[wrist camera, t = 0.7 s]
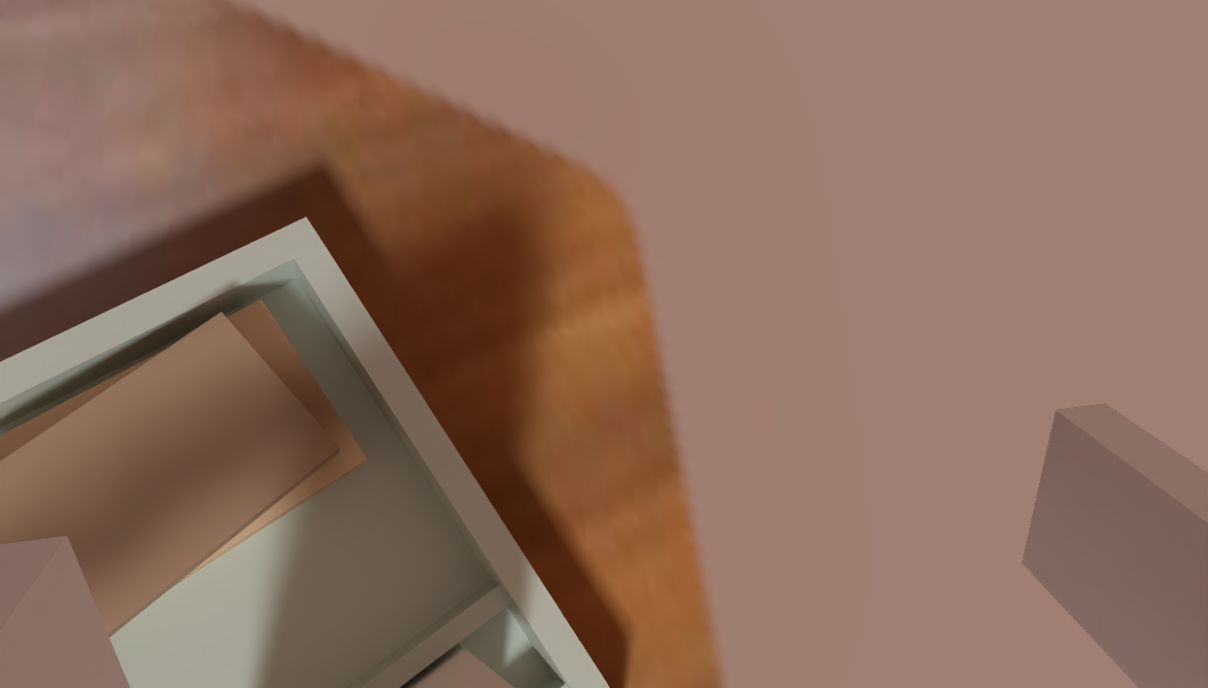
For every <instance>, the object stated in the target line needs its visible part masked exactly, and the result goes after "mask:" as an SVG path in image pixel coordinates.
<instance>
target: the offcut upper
mask: <svg viewBox="0 0 1208 688" xmlns="http://www.w3.org/2000/svg"><path fill="white" fill-rule="evenodd" d="M339 449H340V447H339V446H338V445H337V444H336V443H335V441H334V440H333V439H332V438H331V437H330V436H329V435H328V433H327V432H326V431H325V430H324V429H323V428H322V427H321V425H320V424H319V423H318V422H317V421H316V420H315V419H314V417H313V416H312V415H311V414H310V413H309V412H308V410H307V409H306V408H305V407H304V406H303V405H302V404H301V402H300V401H299V400H298V399H297V398H296V397H295V396H294V394H293V393H292V392H291V391H290V390H289V389H288V388H287V386H286V385H285V384H284V383H283V382H282V381H281V379H280V378H279V377H278V376H277V375H276V374H275V373H274V371H273V370H272V369H271V368H270V367H269V366H268V365H267V363H266V362H265V361H264V360H263V359H262V358H261V357H260V355H259V354H258V353H257V352H256V351H255V350H254V348H253V347H252V346H251V345H250V344H249V343H248V342H247V340H246V339H245V338H244V337H243V336H242V335H241V334H240V332H239V331H238V330H237V329H236V328H235V327H234V326H233V324H232V323H231V322H230V321H229V320H228V319H227V317H226V316H225V315H224V314H223V313H222V312H220V313H219V314H217V315H216V316H214V317H213V318H212V319H210V320H209V321H207V322H206V323H204V324H203V325H201V326H200V327H198V328H197V329H195V330H194V331H192V332H191V333H189V334H188V335H186V336H185V337H183V338H182V339H180V340H179V341H177V342H176V343H175V344H173V345H172V346H170V347H169V348H167V349H166V350H164V351H163V352H161V353H160V354H158V355H157V356H155V357H154V358H152V359H151V360H149V361H148V362H146V363H145V364H143V365H142V366H140V367H139V368H138V369H136V370H135V371H133V372H132V373H130V374H129V375H127V376H126V377H124V378H123V379H121V380H120V381H118V382H117V383H115V384H114V385H112V386H111V387H109V388H108V389H106V390H105V391H103V392H102V393H101V394H99V395H98V396H96V397H95V398H93V399H92V400H90V401H89V402H87V403H86V404H84V405H83V406H81V407H80V408H78V409H77V410H75V411H74V412H72V413H71V414H69V415H68V416H67V417H65V418H64V419H62V420H61V421H59V422H58V423H56V424H55V425H53V426H52V427H50V428H49V429H47V430H46V431H44V432H43V433H41V434H40V435H38V436H37V437H35V438H34V439H32V440H31V441H30V442H28V443H27V444H25V445H24V446H22V447H21V448H19V449H18V450H16V451H15V452H13V453H12V454H10V455H9V456H7V457H6V458H4V459H3V460H1V461H0V544H7V543H15V542H23V541H31V540H39V539H47V538H54V537H62V536H67V537H68V539H69V541H70V544H71V546H72V549H73V551H74V553H75V556H76V558H77V561H78V563H79V565H80V568H81V570H82V573H83V575H84V578H85V580H86V582H87V585H88V587H89V590H90V592H91V594H92V597H93V599H94V602H95V604H96V607H97V609H98V611H99V614H100V616H101V619H102V621H103V623H104V626H105V628H106V631H107V633H108V636H109V638H110V637H111V636H112V635H114V634H115V633H116V632H117V631H118V630H120V629H121V628H122V627H123V626H125V625H126V624H127V623H128V622H130V621H131V620H132V619H133V618H135V617H136V616H137V615H138V614H140V613H141V612H142V611H143V610H145V609H146V608H147V607H148V606H150V605H151V604H152V603H153V602H154V601H156V600H157V599H158V598H159V597H161V596H162V595H163V594H164V593H166V592H167V591H168V590H169V589H171V588H172V587H173V586H174V585H176V584H177V583H178V582H179V581H181V580H182V579H183V578H184V577H186V576H187V575H188V574H189V573H191V572H192V571H193V570H194V569H195V568H197V567H198V566H199V565H200V564H202V563H203V562H204V561H205V560H207V559H208V558H209V557H210V556H212V555H213V554H214V553H215V552H217V551H218V550H219V549H220V548H222V547H223V546H224V545H225V544H227V543H228V542H229V541H230V540H231V539H233V538H234V537H235V536H236V535H238V534H239V533H240V532H241V531H243V530H244V529H245V528H246V527H248V526H249V525H250V524H251V523H253V522H254V521H255V520H256V519H258V518H259V517H260V516H261V515H263V514H264V513H265V512H266V511H268V510H269V509H270V508H271V507H272V506H274V505H275V504H276V503H277V502H279V501H280V500H281V499H282V498H284V497H285V496H286V495H287V494H289V493H290V492H291V491H292V490H294V489H295V488H296V487H297V486H299V485H300V484H301V483H302V482H304V481H305V480H306V479H307V478H308V477H310V476H311V475H312V474H313V473H315V472H316V471H317V470H318V469H320V468H321V467H322V466H323V465H325V464H326V463H327V462H328V461H330V460H331V459H332V458H333V457H335V456H336V455H337V454H338V453H339Z"/></svg>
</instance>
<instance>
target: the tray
mask: <svg viewBox="0 0 1208 688" xmlns="http://www.w3.org/2000/svg"><path fill="white" fill-rule="evenodd" d="M260 299H261V300H262V301H263V303H264V304H265V306H266V307H267V309H268V310H269V312H270V313H271V315H272V316H273V318H274V319H275V321H276V322H277V324H278V325H279V327H280V328H281V330H282V331H283V333H284V334H285V336H286V337H287V339H288V340H289V342H290V343H291V345H292V346H293V348H294V349H295V351H296V352H297V354H298V355H299V357H300V358H301V360H302V361H303V363H304V364H305V366H306V367H307V369H308V370H309V372H310V373H311V375H312V376H313V378H314V379H315V381H316V382H317V384H318V385H319V387H320V388H321V390H322V391H323V393H324V394H325V396H326V397H327V399H328V400H329V402H330V403H331V405H332V406H333V408H334V409H335V411H336V412H337V414H338V415H339V417H340V418H341V420H342V421H343V423H344V424H345V426H346V427H347V429H348V430H349V432H350V433H351V435H352V436H353V438H354V439H355V441H356V442H357V444H358V445H359V447H360V448H361V450H362V451H363V453H364V454H365V456H366V457H367V460H366V462H365V464H363V465H362V466H360V467H359V468H357V469H355V470H354V471H352V472H351V473H349V474H348V475H346V476H345V477H343V478H341V479H340V480H338V481H337V482H335V483H334V484H332V485H331V486H329V487H327V488H326V489H324V490H323V491H321V492H320V493H318V494H317V495H315V496H313V497H312V498H310V499H309V500H307V501H306V502H304V503H303V504H301V505H299V506H298V507H296V508H295V509H293V510H292V511H290V512H289V513H287V514H286V515H284V516H282V517H281V518H279V519H278V520H276V521H275V522H273V523H272V524H270V525H268V526H267V527H265V528H264V529H262V530H261V531H259V532H258V533H256V534H254V535H253V536H251V537H250V538H248V539H247V540H245V541H244V542H242V543H240V544H239V545H237V546H236V547H234V548H233V549H231V550H230V551H228V552H226V553H225V554H223V555H222V556H220V557H219V558H217V559H216V560H214V561H212V562H211V563H209V564H208V565H206V566H205V567H203V568H202V569H200V570H199V571H197V572H195V573H194V574H192V575H191V576H189V577H188V578H186V579H185V580H183V581H181V582H180V583H178V584H177V585H175V586H174V587H172V588H171V589H169V590H168V591H167V592H166V593H164V594H163V595H162V596H161V597H159V598H158V599H157V600H156V601H154V602H153V603H152V604H151V605H150V606H148V607H147V608H146V609H145V610H143V611H142V612H141V613H140V614H138V615H137V616H136V617H135V618H133V619H132V620H131V621H130V622H128V623H127V624H126V625H125V626H123V627H122V628H121V629H120V630H118V631H117V632H116V633H115V634H114V635H112V636H111V637H110V640H111V643H112V645H113V648H114V650H115V652H116V655H117V657H118V660H119V662H120V665H121V667H122V669H123V672H124V674H125V677H126V679H127V681H128V684H129V686H130V688H400V687H401V686H402V685H404V684H405V683H406V682H407V681H409V680H410V679H411V678H413V677H414V676H415V675H417V674H418V673H419V672H421V671H422V670H423V669H425V668H426V667H427V666H429V665H430V664H431V663H433V662H434V661H435V660H436V659H438V658H439V657H440V656H442V655H443V654H444V653H446V652H447V651H448V650H450V649H451V648H452V647H454V646H455V645H456V644H460V645H461V646H462V647H464V648H465V649H466V650H467V651H469V652H470V653H471V654H472V655H474V656H475V657H476V658H477V659H479V660H480V661H481V662H483V663H484V664H485V665H486V666H488V667H489V668H490V669H491V670H493V671H494V672H495V673H497V674H498V675H499V676H500V677H502V678H503V679H504V680H505V681H507V682H508V683H509V684H511V685H512V686H513V687H514V688H610V687H609V686H608V684H607V682H606V681H605V679H604V678H603V676H602V675H601V673H600V672H599V670H598V668H597V667H596V665H595V664H594V662H593V661H592V659H591V658H590V656H589V654H588V653H587V651H586V650H585V648H584V647H583V645H582V644H581V642H580V641H579V639H578V637H577V636H576V634H575V633H574V631H573V630H572V628H571V627H570V625H569V623H568V622H567V620H566V619H565V617H564V616H563V614H562V613H561V611H560V610H559V608H558V606H557V605H556V603H555V602H554V600H553V599H552V597H551V596H550V594H549V592H548V591H547V589H546V588H545V586H544V585H543V583H542V582H541V580H540V578H539V577H538V575H537V574H536V572H535V571H534V569H533V568H532V566H531V565H530V563H529V561H528V560H527V558H526V557H525V555H524V554H523V552H522V551H521V549H520V547H519V546H518V544H517V543H516V541H515V540H514V538H513V537H512V535H511V534H510V532H509V530H508V529H507V527H506V526H505V524H504V523H503V521H502V520H501V518H500V516H499V515H498V513H497V512H496V510H495V509H494V507H493V506H492V504H491V503H490V501H489V499H488V498H487V496H486V495H485V493H484V492H483V490H482V489H481V487H480V485H479V484H478V482H477V481H476V479H475V478H474V476H473V475H472V473H471V471H470V470H469V468H468V467H467V465H466V464H465V462H464V461H463V459H462V458H461V456H460V454H459V453H458V451H457V450H456V448H455V447H454V445H453V444H452V442H451V440H450V439H449V437H448V436H447V434H446V433H445V431H444V430H443V428H442V427H441V425H440V423H439V422H438V420H437V419H436V417H435V416H434V414H433V413H432V411H431V409H430V408H429V406H428V405H427V403H426V402H425V400H424V399H423V397H422V395H421V394H420V392H419V391H418V389H417V388H416V386H415V385H414V383H413V382H412V380H411V378H410V377H409V375H408V374H407V372H406V371H405V369H404V368H403V366H402V364H401V363H400V361H399V360H398V358H397V357H396V355H395V354H394V352H393V351H392V349H391V347H390V346H389V344H388V343H387V341H386V340H385V338H384V337H383V335H382V333H381V332H380V330H379V329H378V327H377V326H376V324H375V323H374V321H373V319H372V318H371V316H370V315H369V313H368V312H367V310H366V309H365V307H364V306H363V304H362V302H361V301H360V299H359V298H358V296H357V295H356V293H355V292H354V290H353V288H352V287H351V285H350V284H349V282H348V281H347V279H346V278H345V276H344V275H343V273H342V271H341V270H340V268H339V267H338V265H337V264H336V262H335V261H334V259H333V257H332V256H331V254H330V253H329V251H328V250H327V248H326V247H325V245H324V244H323V242H322V240H321V239H320V237H319V236H318V234H317V233H316V231H315V230H314V228H313V226H312V225H311V223H310V222H309V220H308V219H307V217H305V218H303V219H301V220H298V221H296V222H294V223H292V224H290V225H288V226H286V227H284V228H282V229H279V230H277V231H275V232H273V233H271V234H269V235H267V236H265V237H263V238H260V239H258V240H256V241H254V242H252V243H250V244H248V245H246V246H244V247H241V248H239V249H237V250H235V251H233V252H231V253H229V254H227V255H225V256H222V257H220V258H218V259H216V260H214V261H212V262H210V263H208V264H206V265H204V266H201V267H199V268H197V269H195V270H193V271H191V272H189V273H187V274H185V275H182V276H180V277H178V278H176V279H174V280H172V281H170V282H168V283H166V284H163V285H161V286H159V287H157V288H155V289H153V290H151V291H149V292H147V293H144V294H142V295H140V296H138V297H136V298H134V299H132V300H130V301H128V302H125V303H123V304H121V305H119V306H117V307H115V308H113V309H111V310H109V311H106V312H104V313H102V314H100V315H98V316H96V317H94V318H92V319H90V320H87V321H85V322H83V323H81V324H79V325H77V326H75V327H73V328H71V329H69V330H66V331H64V332H62V333H60V334H58V335H56V336H54V337H52V338H50V339H47V340H45V341H43V342H41V343H39V344H37V345H35V346H33V347H31V348H28V349H26V350H24V351H22V352H20V353H18V354H16V355H14V356H12V357H9V358H7V359H5V360H3V361H1V362H0V435H2V434H4V433H6V432H8V431H10V430H12V429H14V428H16V427H18V426H20V425H21V424H23V423H25V422H27V421H29V420H31V419H33V418H35V417H37V416H39V415H41V414H42V413H44V412H46V411H48V410H50V409H52V408H54V407H56V406H58V405H60V404H62V403H63V402H65V401H67V400H69V399H71V398H73V397H75V396H77V395H79V394H81V393H83V392H84V391H86V390H88V389H90V388H92V387H94V386H96V385H98V384H100V383H102V382H104V381H105V380H107V379H109V378H111V377H113V376H115V375H117V374H119V373H121V372H123V371H125V370H127V369H128V368H130V367H132V366H134V365H136V364H138V363H140V362H142V361H144V360H146V359H148V358H149V357H151V356H153V355H155V354H157V353H159V352H161V351H163V350H165V349H167V348H169V347H170V346H172V345H173V344H175V343H176V342H177V341H179V340H180V339H182V338H183V337H185V336H186V335H188V334H189V333H191V332H192V331H194V330H195V329H197V328H198V327H200V326H201V325H203V324H204V323H206V322H207V321H209V320H210V319H212V318H213V317H214V316H216V315H217V314H219V313H220V312H222V313H223V314H224V315H225V316H226V317H228V316H230V315H232V314H233V313H235V312H237V311H239V310H241V309H243V308H245V307H247V306H249V305H251V304H253V303H254V302H256V301H258V300H260Z"/></svg>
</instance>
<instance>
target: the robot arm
mask: <svg viewBox="0 0 1208 688" xmlns="http://www.w3.org/2000/svg"><path fill="white" fill-rule="evenodd" d="M1022 564H1023V565H1024V566H1025V567H1026V568H1027V569H1028V570H1029V571H1030V572H1031V573H1032V574H1033V576H1034V577H1035V578H1036V579H1037V580H1038V581H1039V582H1040V583H1041V584H1042V585H1043V586H1044V587H1045V588H1046V589H1047V590H1048V592H1049V593H1050V594H1051V595H1052V596H1053V597H1054V598H1055V599H1056V600H1057V601H1058V602H1059V603H1060V604H1061V605H1062V606H1063V607H1064V608H1065V610H1066V611H1067V612H1068V613H1069V614H1070V615H1071V616H1072V617H1073V618H1074V619H1075V620H1076V621H1077V622H1078V624H1080V626H1081V627H1082V628H1083V629H1084V630H1085V631H1086V632H1087V633H1088V634H1089V635H1090V636H1091V637H1092V638H1093V640H1094V641H1095V642H1096V643H1097V644H1098V645H1099V646H1100V647H1101V648H1102V649H1103V650H1104V651H1105V652H1106V653H1107V654H1108V656H1109V657H1110V658H1111V659H1112V660H1113V661H1114V662H1115V663H1116V664H1117V665H1118V666H1119V667H1120V668H1121V669H1122V670H1123V672H1124V673H1125V674H1126V675H1127V676H1128V677H1129V678H1130V679H1131V680H1132V681H1133V682H1134V683H1135V684H1136V685H1137V686H1138V687H1139V688H1208V473H1207V472H1206V471H1204V470H1203V469H1201V468H1200V467H1198V466H1197V465H1195V464H1194V463H1192V462H1191V461H1189V460H1188V459H1186V458H1185V457H1183V456H1182V455H1180V454H1179V453H1177V452H1176V451H1175V450H1173V449H1172V448H1170V447H1169V446H1167V445H1166V444H1164V443H1163V442H1161V441H1160V440H1158V439H1157V438H1155V437H1154V436H1152V435H1151V434H1149V433H1148V432H1146V431H1145V430H1144V429H1142V428H1140V427H1139V426H1138V425H1136V424H1135V423H1133V422H1132V421H1130V420H1129V419H1127V418H1126V417H1124V416H1123V415H1121V414H1120V413H1118V412H1117V411H1116V410H1114V409H1113V408H1111V407H1110V406H1108V405H1107V404H1105V403H1104V404H1097V405H1089V406H1081V407H1073V408H1066V409H1057V410H1055V415H1054V419H1053V424H1052V429H1051V433H1050V438H1049V442H1048V447H1047V451H1046V456H1045V460H1044V465H1043V470H1042V474H1041V479H1040V483H1039V488H1038V492H1037V497H1036V501H1035V506H1034V510H1033V515H1032V520H1031V524H1030V528H1029V534H1028V537H1027V543H1026V547H1025V552H1024V556H1023V560H1022ZM0 688H130V686H129V684H128V681H127V679H126V677H125V674H124V672H123V669H122V667H121V665H120V662H119V660H118V657H117V655H116V652H115V650H114V648H113V645H112V643H111V640H110V638H109V636H108V633H107V631H106V628H105V626H104V623H103V621H102V619H101V616H100V614H99V611H98V609H97V607H96V604H95V602H94V599H93V597H92V594H91V592H90V590H89V587H88V585H87V582H86V580H85V578H84V575H83V573H82V570H81V568H80V565H79V563H78V561H77V558H76V556H75V553H74V551H73V549H72V546H71V544H70V541H69V539H68V537H67V536H62V537H54V538H47V539H39V540H31V541H23V542H15V543H7V544H0Z"/></svg>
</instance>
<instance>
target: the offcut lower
mask: <svg viewBox="0 0 1208 688" xmlns="http://www.w3.org/2000/svg"><path fill="white" fill-rule="evenodd" d="M227 319H228V320H229V321H230V322H231V323H232V324H233V326H234V327H235V328H236V329H237V330H238V331H239V332H240V334H241V335H242V336H243V337H244V338H245V339H246V340H247V342H248V343H249V344H250V345H251V346H252V347H253V348H254V350H255V351H256V352H257V353H258V354H259V355H260V357H261V358H262V359H263V360H264V361H265V362H266V363H267V365H268V366H269V367H270V368H271V369H272V370H273V371H274V373H275V374H276V375H277V376H278V377H279V378H280V379H281V381H282V382H283V383H284V384H285V385H286V386H287V388H288V389H289V390H290V391H291V392H292V393H293V394H294V396H295V397H296V398H297V399H298V400H299V401H300V402H301V404H302V405H303V406H304V407H305V408H306V409H307V410H308V412H309V413H310V414H311V415H312V416H313V417H314V419H315V420H316V421H317V422H318V423H319V424H320V425H321V427H322V428H323V429H324V430H325V431H326V432H327V433H328V435H329V436H330V437H331V438H332V439H333V440H334V441H335V443H336V444H337V445H338V446H339V447H340V449H339V453H338V454H337V455H336V456H335V457H333V458H332V459H331V460H330V461H328V462H327V463H326V464H325V465H323V466H322V467H321V468H320V469H318V470H317V471H316V472H315V473H313V474H312V475H311V476H310V477H308V478H307V479H306V480H305V481H304V482H302V483H301V484H300V485H299V486H297V487H296V488H295V489H294V490H292V491H291V492H290V493H289V494H287V495H286V496H285V497H284V498H282V499H281V500H280V501H279V502H277V503H276V504H275V505H274V506H272V507H271V508H270V509H269V510H268V511H266V512H265V513H264V514H263V515H261V516H260V517H259V518H258V519H256V520H255V521H254V522H253V523H251V524H250V525H249V526H248V527H246V528H245V529H244V530H243V531H241V532H240V533H239V534H238V535H236V536H235V537H234V538H233V539H231V540H230V541H229V542H228V543H227V544H225V545H224V546H223V547H222V548H220V549H219V550H218V551H217V552H215V553H214V554H213V555H212V556H210V557H209V558H208V559H207V560H205V561H204V562H203V563H202V564H200V565H199V566H198V567H197V568H195V569H194V570H193V571H192V572H191V573H189V574H188V575H187V576H186V577H184V578H183V579H182V580H181V581H183V580H185V579H186V578H188V577H189V576H191V575H192V574H194V573H195V572H197V571H199V570H200V569H202V568H203V567H205V566H206V565H208V564H209V563H211V562H212V561H214V560H216V559H217V558H219V557H220V556H222V555H223V554H225V553H226V552H228V551H230V550H231V549H233V548H234V547H236V546H237V545H239V544H240V543H242V542H244V541H245V540H247V539H248V538H250V537H251V536H253V535H254V534H256V533H258V532H259V531H261V530H262V529H264V528H265V527H267V526H268V525H270V524H272V523H273V522H275V521H276V520H278V519H279V518H281V517H282V516H284V515H286V514H287V513H289V512H290V511H292V510H293V509H295V508H296V507H298V506H299V505H301V504H303V503H304V502H306V501H307V500H309V499H310V498H312V497H313V496H315V495H317V494H318V493H320V492H321V491H323V490H324V489H326V488H327V487H329V486H331V485H332V484H334V483H335V482H337V481H338V480H340V479H341V478H343V477H345V476H346V475H348V474H349V473H351V472H352V471H354V470H355V469H357V468H359V467H360V466H362V465H363V464H365V462H366V460H367V457H366V456H365V454H364V453H363V451H362V450H361V448H360V447H359V445H358V444H357V442H356V441H355V439H354V438H353V436H352V435H351V433H350V432H349V430H348V429H347V427H346V426H345V424H344V423H343V421H342V420H341V418H340V417H339V415H338V414H337V412H336V411H335V409H334V408H333V406H332V405H331V403H330V402H329V400H328V399H327V397H326V396H325V394H324V393H323V391H322V390H321V388H320V387H319V385H318V384H317V382H316V381H315V379H314V378H313V376H312V375H311V373H310V372H309V370H308V369H307V367H306V366H305V364H304V363H303V361H302V360H301V358H300V357H299V355H298V354H297V352H296V351H295V349H294V348H293V346H292V345H291V343H290V342H289V340H288V339H287V337H286V336H285V334H284V333H283V331H282V330H281V328H280V327H279V325H278V324H277V322H276V321H275V319H274V318H273V316H272V315H271V313H270V312H269V310H268V309H267V307H266V306H265V304H264V303H263V301H262V300H261V299H260V300H258V301H256V302H254V303H253V304H251V305H249V306H247V307H245V308H243V309H241V310H239V311H237V312H235V313H233V314H232V315H230V316H228V317H227ZM165 350H166V349H165ZM163 351H164V350H163ZM163 351H161V352H163ZM161 352H159V353H157V354H155V355H153V356H151V357H149V358H148V359H146V360H144V361H142V362H140V363H138V364H136V365H134V366H132V367H130V368H128V369H127V370H125V371H123V372H121V373H119V374H117V375H115V376H113V377H111V378H109V379H107V380H105V381H104V382H102V383H100V384H98V385H96V386H94V387H92V388H90V389H88V390H86V391H84V392H83V393H81V394H79V395H77V396H75V397H73V398H71V399H69V400H67V401H65V402H63V403H62V404H60V405H58V406H56V407H54V408H52V409H50V410H48V411H46V412H44V413H42V414H41V415H39V416H37V417H35V418H33V419H31V420H29V421H27V422H25V423H23V424H21V425H20V426H18V427H16V428H14V429H12V430H10V431H8V432H6V433H4V434H2V435H0V461H1V460H3V459H4V458H6V457H7V456H9V455H10V454H12V453H13V452H15V451H16V450H18V449H19V448H21V447H22V446H24V445H25V444H27V443H28V442H30V441H31V440H32V439H34V438H35V437H37V436H38V435H40V434H41V433H43V432H44V431H46V430H47V429H49V428H50V427H52V426H53V425H55V424H56V423H58V422H59V421H61V420H62V419H64V418H65V417H67V416H68V415H69V414H71V413H72V412H74V411H75V410H77V409H78V408H80V407H81V406H83V405H84V404H86V403H87V402H89V401H90V400H92V399H93V398H95V397H96V396H98V395H99V394H101V393H102V392H103V391H105V390H106V389H108V388H109V387H111V386H112V385H114V384H115V383H117V382H118V381H120V380H121V379H123V378H124V377H126V376H127V375H129V374H130V373H132V372H133V371H135V370H136V369H138V368H139V367H140V366H142V365H143V364H145V363H146V362H148V361H149V360H151V359H152V358H154V357H155V356H157V355H158V354H160V353H161ZM181 581H179V582H178V583H180V582H181ZM178 583H177V584H178ZM177 584H176V585H177ZM174 586H175V585H174ZM174 586H173V587H174Z"/></svg>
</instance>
